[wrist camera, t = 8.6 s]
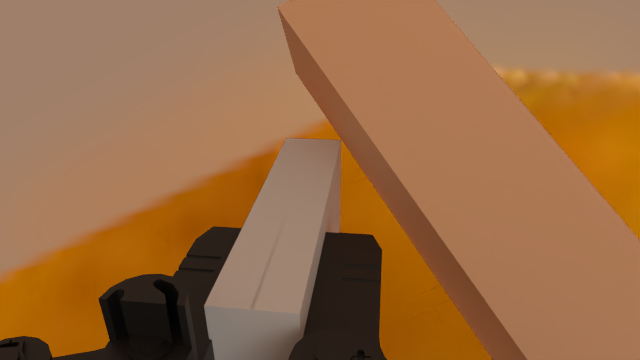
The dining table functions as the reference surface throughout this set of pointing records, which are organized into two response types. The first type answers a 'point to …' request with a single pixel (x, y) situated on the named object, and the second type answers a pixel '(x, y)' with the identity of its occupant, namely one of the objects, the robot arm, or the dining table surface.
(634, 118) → the dining table surface
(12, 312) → the dining table surface
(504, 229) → the swing bar
